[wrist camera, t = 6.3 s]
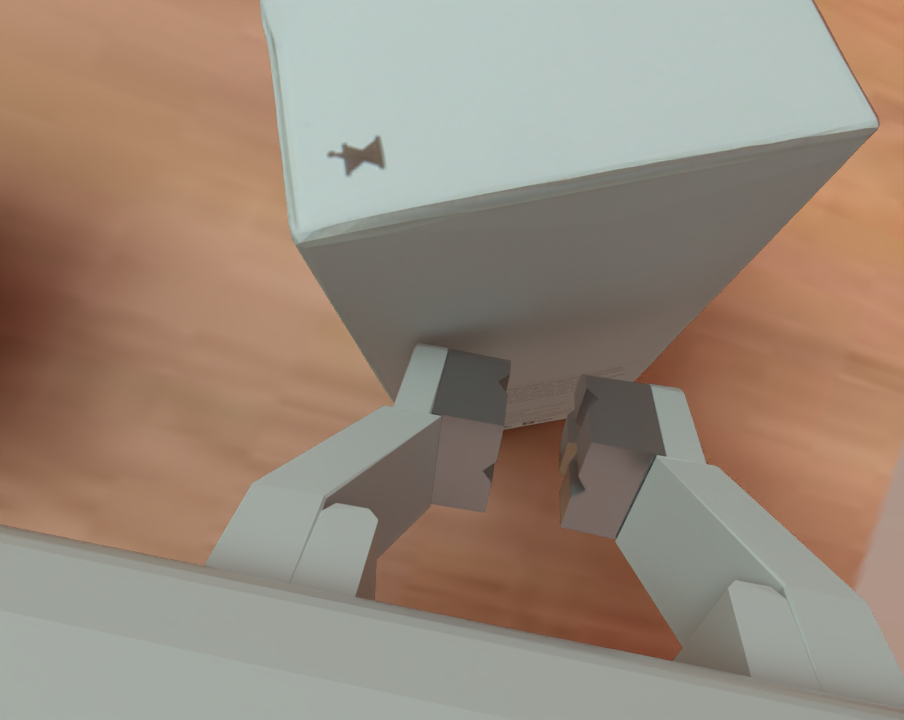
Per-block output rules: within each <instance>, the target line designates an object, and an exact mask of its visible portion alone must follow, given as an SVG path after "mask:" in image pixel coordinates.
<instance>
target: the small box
mask: <svg viewBox="0 0 904 720" xmlns="http://www.w3.org/2000/svg"><path fill="white" fill-rule="evenodd" d="M260 4H261V16H262V22H263V28H264V31H265V35H266V39H267V44H268V50H269V55H270V62H271V70H272V79H273V88H274V96H275V102H276V113H277V124H278V132H279V140H280V148H281V156H282V164H283V174H284V184H285V193H286V201H287V211H288V222H289V227H290V232H291V237H292V240H293V242H294V244H295V245H296V247H297V249H298V250H299V252H300V254H301V255H302V257H303V258H304V260H305V262H306V263H307V265H308V267H309V268H310V270H311V272H312V273H313V275H314V276H315V278H316V279H317V281H318V283H319V284H320V286H321V288H322V289H323V291H324V292H325V294H326V296H327V297H328V299H329V301H330V302H331V304H332V305H333V307H334V309H335V310H336V312H337V314H338V315H339V317H340V318H341V320H342V322H343V323H344V325H345V326H346V328H347V330H348V331H349V333H350V334H351V336H352V338H353V339H354V341H355V342H356V344H357V346H358V347H359V349H360V351H361V352H362V354H363V356H364V357H365V359H366V360H367V362H368V364H369V365H370V367H371V368H372V370H373V372H374V373H375V375H376V376H377V378H378V379H379V381H380V383H381V384H382V386H383V387H384V389H385V390H386V392H387V393H388V395H389V396H390V398H391V399H392V401H393V402H394V403H395V400H396V398H397V395H398V392H399V389H400V387H401V384H402V381H403V378H404V376H405V373H406V370H407V367H408V365H409V362H410V359H411V356H412V354H413V351H414V348H415V347H416V345H417V344H418V343H422V344H428V345H434V346H439V347H445V348H448V349H449V350H450V349H456V350H461V351H466V352H471V353H476V354H481V355H486V356H491V357H496V358H501V359H506V360H511V369H510V377H509V381H508V386H507V391H506V392H507V394H508V398H507V406H506V415H505V423H504V429H503V430H506V429H511V428H517V427H522V426H528V425H533V424H539V423H544V422H550V421H556V420H562V419H566V418H567V415H568V414H569V413H571V412H572V411H573V410H575V401H574V393H575V390H576V387H577V384H578V381H579V379H580V377H581V375H582V374H588V375H594V376H600V377H606V378H612V379H618V380H624V381H630V382H634V381H635V380H636V379H637V378H638V377H639V376H640V375H641V374H642V373H643V372H644V371H645V370H646V369H647V368H648V367H649V366H650V365H651V364H652V363H653V362H654V361H655V360H656V359H657V358H658V356H659V355H660V354H661V353H662V352H663V351H664V350H665V349H666V348H667V347H668V346H669V344H670V343H671V342H672V341H673V340H674V339H675V338H676V337H677V336H678V335H680V333H681V332H682V331H683V330H684V329H685V328H686V327H687V326H688V325H689V324H690V323H691V322H692V321H693V320H694V319H695V318H696V317H697V316H698V315H699V314H700V313H701V312H702V311H703V309H704V308H705V307H706V306H707V305H708V304H709V303H710V302H711V301H712V300H713V299H714V298H715V297H716V296H717V295H718V294H719V293H720V292H721V291H722V290H723V289H724V288H725V287H726V286H727V285H728V284H729V283H730V282H731V281H732V280H733V278H734V277H735V276H736V275H737V274H738V273H739V272H740V271H741V270H742V269H743V268H744V267H745V266H746V265H747V264H748V263H749V262H750V261H751V260H752V259H753V258H754V257H755V256H756V255H757V254H758V253H759V252H760V251H761V250H762V249H763V248H764V247H765V245H766V244H767V243H768V242H769V241H770V240H771V239H772V238H773V237H774V236H775V235H776V234H777V233H778V232H779V231H780V230H781V229H782V228H783V227H784V226H785V225H786V224H787V223H788V222H789V221H790V219H791V218H792V217H793V216H794V215H795V214H796V213H797V212H798V211H799V210H800V209H801V208H802V207H803V206H804V205H805V204H806V203H807V202H808V201H809V200H810V199H811V198H812V197H813V196H814V195H815V193H816V192H817V191H818V190H819V189H820V188H821V187H822V186H823V185H824V184H825V183H826V182H827V181H828V180H829V179H830V178H831V177H832V176H833V175H834V174H835V173H836V172H837V171H838V170H839V169H840V168H841V167H842V166H843V165H844V163H845V162H846V161H847V160H848V159H849V158H850V157H851V156H852V155H853V154H854V153H855V152H856V151H857V150H858V148H859V147H860V146H861V145H862V144H863V143H864V142H865V141H866V140H867V139H868V138H869V137H870V136H871V135H872V134H874V133H875V132H876V131H877V129H878V127H879V126H880V122H879V119H878V116H877V114H876V112H875V110H874V109H873V107H872V105H871V103H870V102H869V100H868V98H867V97H866V95H865V93H864V91H863V90H862V88H861V86H860V84H859V83H858V81H857V79H856V77H855V76H854V74H853V72H852V70H851V69H850V67H849V65H848V63H847V61H846V59H845V57H844V55H843V53H842V51H841V50H840V48H839V46H838V44H837V42H836V40H835V38H834V36H833V34H832V32H831V31H830V29H829V27H828V25H827V23H826V21H825V19H824V17H823V16H822V14H821V12H820V10H819V9H818V7H817V5H816V3H815V2H814V0H260Z"/></svg>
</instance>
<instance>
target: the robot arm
mask: <svg viewBox="0 0 904 720" xmlns="http://www.w3.org/2000/svg"><path fill="white" fill-rule="evenodd" d="M510 369H511V360H506V359H501V358H496V357H491V356H486V355H481V354H476V353H471V352H466V351H461V350H456V349H450V350H449V349H448V348H445V347H439V346H434V345H428V344H422V343H418V344H417V345H416V347H415V348H414V351H413V354H412V356H411V359H410V362H409V365H408V367H407V370H406V373H405V376H404V378H403V381H402V384H401V387H400V389H399V392H398V395H397V398H396V400H395V403H394V406H393V407H390V406H382V407H380V408H379V409H377V410H375V411H374V412H372V413H370V414H369V415H367V416H365V417H363V418H362V419H360V420H358V421H357V422H355V423H353V424H352V425H350V426H348V427H347V428H345V429H343V430H342V431H340V432H338V433H336V434H335V435H333V436H331V437H330V438H328V439H326V440H325V441H323V442H321V443H320V444H318V445H316V446H314V447H313V448H311V449H309V450H308V451H306V452H304V453H303V454H301V455H299V456H298V457H296V458H294V459H293V460H291V461H289V462H287V463H286V464H284V465H282V466H281V467H279V468H277V469H276V470H274V471H272V472H271V473H269V474H267V475H265V476H264V477H262V478H260V479H259V480H257V481H255V482H254V483H252V485H251V486H250V488H249V490H248V492H247V493H246V495H245V497H244V498H243V500H242V502H241V503H240V505H239V507H238V509H237V510H236V512H235V514H234V515H233V517H232V519H231V520H230V522H229V524H228V526H227V527H226V529H225V531H224V532H223V534H222V536H221V538H220V539H219V541H218V543H217V544H216V546H215V548H214V549H213V551H212V553H211V555H210V556H209V558H208V560H207V561H206V563H205V565H204V566H203V565H198V564H193V563H188V562H183V561H178V560H173V559H168V558H163V557H159V556H154V555H149V554H144V553H139V552H134V551H129V550H124V549H119V548H114V547H109V546H104V545H99V544H95V543H90V542H85V541H80V540H75V539H70V538H65V537H60V536H55V535H50V534H45V533H40V532H35V531H31V530H26V529H21V528H16V527H11V526H6V525H1V524H0V720H904V676H903V674H902V672H901V670H900V668H899V666H898V664H897V662H896V660H895V658H894V656H893V654H892V651H891V649H890V648H889V645H888V643H887V641H886V639H885V637H884V635H883V633H882V631H881V629H880V627H879V625H878V623H877V621H876V619H875V617H874V615H873V613H872V611H871V609H870V607H869V605H868V603H867V602H866V601H865V600H863V599H862V598H861V597H860V596H859V595H858V594H857V593H856V592H855V591H854V590H852V589H851V588H850V587H849V586H848V585H847V584H846V583H845V582H844V581H843V580H842V579H840V578H839V577H838V576H837V575H836V574H835V573H834V572H833V571H832V570H831V569H829V568H828V567H827V566H826V565H825V564H824V563H823V562H822V561H821V560H820V559H819V558H817V557H816V556H815V555H814V554H813V553H812V552H811V551H810V550H809V549H808V548H806V547H805V546H804V545H803V544H802V543H801V542H800V541H799V540H798V539H797V538H795V537H794V536H793V535H792V534H791V533H790V532H789V531H788V530H787V529H786V528H785V527H783V526H782V525H781V524H780V523H779V522H778V521H777V520H776V519H775V518H774V517H772V516H771V515H770V514H769V513H768V512H767V511H766V510H765V509H764V508H763V507H762V506H760V505H759V504H758V503H757V502H756V501H755V500H754V499H753V498H752V497H751V496H749V495H748V494H747V493H746V492H745V491H744V490H743V489H742V488H741V487H740V486H738V485H737V484H736V483H735V482H734V481H733V480H732V479H731V478H730V477H729V476H728V475H726V474H725V473H724V472H723V471H722V470H721V469H720V468H719V467H718V466H713V465H708V464H707V462H706V459H705V456H704V453H703V450H702V447H701V444H700V440H699V437H698V434H697V431H696V428H695V425H694V422H693V419H692V415H691V412H690V409H689V406H688V403H687V400H686V397H685V394H684V392H683V391H682V390H681V389H680V388H676V387H669V386H662V385H655V384H648V383H647V384H642V383H636V382H630V381H624V380H618V379H612V378H606V377H600V376H594V375H588V374H582V375H581V377H580V379H579V381H578V384H577V387H576V390H575V393H574V401H575V410H573V411H572V412H571V413H569V414H568V415H567V418H566V422H565V425H564V429H563V433H562V439H561V444H560V454H559V471H560V472H561V474H562V475H563V476H564V480H563V483H562V486H561V489H560V492H559V498H560V527H562V528H566V529H571V530H575V531H580V532H585V533H589V534H594V535H598V536H603V537H607V538H612V539H616V541H615V542H616V544H617V545H618V547H619V548H620V550H621V552H622V553H623V555H624V556H625V558H626V559H627V561H628V563H629V564H630V566H631V567H632V569H633V570H634V572H635V574H636V575H637V577H638V578H639V580H640V581H641V583H642V584H643V586H644V588H645V589H646V591H647V592H648V594H649V595H650V597H651V599H652V600H653V602H654V603H655V605H656V606H657V608H658V610H659V611H660V613H661V614H662V616H663V617H664V619H665V621H666V622H667V624H668V625H669V627H670V628H671V630H672V631H673V633H674V635H675V636H676V638H677V639H678V641H679V642H680V644H681V646H682V647H683V648H682V649H681V651H680V652H679V653H678V654H677V656H676V657H675V658H674V660H673V661H669V660H664V659H659V658H654V657H649V656H645V655H640V654H635V653H630V652H625V651H620V650H615V649H610V648H605V647H600V646H595V645H590V644H585V643H580V642H575V641H570V640H565V639H561V638H556V637H551V636H546V635H541V634H536V633H531V632H526V631H521V630H516V629H511V628H506V627H501V626H496V625H491V624H486V623H481V622H477V621H472V620H467V619H462V618H457V617H452V616H447V615H442V614H437V613H433V612H428V611H423V610H418V609H413V608H408V607H403V606H398V605H394V604H389V603H384V602H379V601H375V585H376V562H377V559H378V558H379V557H380V556H381V555H382V554H383V553H384V552H385V551H386V550H387V549H388V548H389V547H390V546H391V545H392V544H393V543H394V542H395V541H396V540H397V539H398V538H399V537H400V536H401V535H402V534H403V533H404V532H405V531H406V530H407V529H408V528H409V527H410V526H411V525H412V524H413V523H414V522H415V521H416V520H417V519H418V518H419V517H420V516H421V515H422V514H423V513H424V512H425V511H426V510H427V509H428V508H429V507H430V504H435V505H441V506H447V507H453V508H459V509H466V510H472V511H478V512H484V513H485V509H486V505H487V501H488V497H489V492H490V488H491V484H492V477H493V469H494V463H495V462H496V461H497V457H498V453H499V448H500V443H501V439H502V434H503V429H504V423H505V415H506V406H507V398H508V394H507V392H506V391H507V386H508V381H509V377H510Z"/></svg>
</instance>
